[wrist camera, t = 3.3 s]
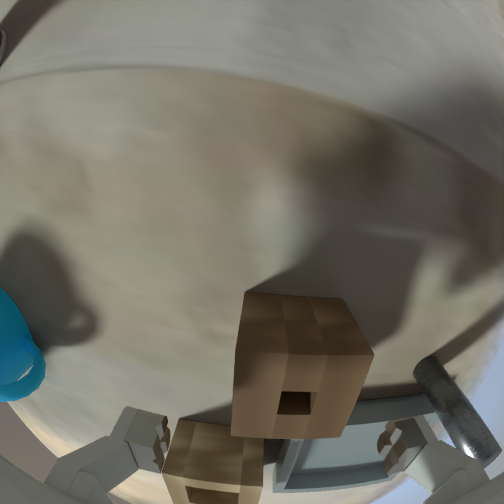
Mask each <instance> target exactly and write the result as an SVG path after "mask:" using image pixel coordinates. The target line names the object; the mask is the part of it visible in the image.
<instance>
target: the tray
mask: <svg viewBox="0 0 504 504" xmlns="http://www.w3.org/2000/svg"><path fill="white" fill-rule="evenodd" d="M418 415H423V416H424V417H425V419H426V420H427V422H428V424H429V426H430V427H431V429H433V427H434V426H435V424H436V423H437V421H438V420H439V417H438V415H437V414H436V412H435V410H434V409H433V407H432V405H431V404H430V402H429V400H428V399H427V397H426V395H425V394H424V393H422V394H416V395H409V396H402V397H394V398H385V399H375V400H363V401H356V404H355V406H354V408H353V411H352V413H351V415H350V417H349V419H348V422H347V424H346V426H345V428H344V430H343V432H342V434H341V436H340V438H323V439H283V440H282V444H281V447H280V451H279V454H278V457H277V461H276V464H275V467H274V471H273V493H295V492H315V491H328V490H337V489H345V488H353V487H359V486H365V485H371V484H376V483H381V482H386V481H390V480H393V478H394V477H395V476H396V475H397V474H398V473H399V472H397V473H392V474H387V475H386V472H385V469H384V467H383V464H382V462H383V459H384V458H383V457H382V456H380V455H379V453H378V450H377V441H378V438H379V436H380V434H381V433H383V432H384V431H385V430H386V429H385V426H386V424H387V423H388V422H389V421H391V420H396V419H401V418H407V417H413V416H418Z"/></svg>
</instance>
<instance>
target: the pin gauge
mask: <svg viewBox="0 0 504 504" xmlns="http://www.w3.org/2000/svg"><path fill="white" fill-rule="evenodd" d="M413 376H414V378H415V379H416V381H417V383H418V384H419V386H420V387H421V389H422V391H423V392H424V394H425V395H426V397H427V399H428V400H429V402H430V404H431V405H432V407H433V409H434V410H435V412H436V414H437V415H438V417H439V419H440V420H441V422H442V424H443V426H444V427H445V429H446V431H447V433H448V434H449V436H450V438H451V440H452V442H453V443H454V445H455V447H456V449H458V450H460V451H462V452H463V453H465V454H467V455H469V456H471V457H473V458H475V459H477V460H479V462H480V463H481V465H482V467H483V469H484V468H485V467H487V466H488V465H489V464H490V463H491V462H493V461H494V460H495V459H496V458H497V457H498V456H499V454H500V453H501V451H502V449H501V448H500V446H499V444H498V443H497V441H496V440H495V438H494V436H493V435H492V434H491V432H490V430H489V429H488V427H487V426H486V425H485V423H484V422H483V420H482V419H481V417H480V416H479V415H478V413H477V411H476V410H475V409H474V407H473V406H472V404H471V403H470V402H469V400H468V399H467V398H466V396H465V395H464V393H463V392H462V391H461V389H460V388H459V387H458V385H457V384H456V383H455V381H454V380H453V379H452V378H451V376H450V375H449V374H448V372H447V371H446V370H445V368H444V367H443V366H442V365H441V363H440V362H439V361H438V360H437V358H436V357H434V356H430V357H427V358H425V359H423V360H422V361H421V362H419V363H418V365H417V366H416V367H415V369H414V372H413Z"/></svg>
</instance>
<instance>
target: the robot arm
mask: <svg viewBox="0 0 504 504" xmlns="http://www.w3.org/2000/svg"><path fill="white" fill-rule="evenodd" d="M167 424H168V419H167V416H164V415H160V414H156V413H152V412H148V411H144V410H140V409H136V408H132V407H129V406H127V407H126V408H124V410H123V411H122V413H121V415H120V417H119V419H118V421H117V423H116V425H115V427H114V429H113V431H112V433H111V434H110V436H104V437H102V438H100V439H98V440H96V441H94V442H92V443H90V444H88V445H86V446H84V447H82V448H80V449H78V450H75V451H73V452H71V453H69V454H67V455H65V456H62V457H60V458H58V459H57V461H56V463H55V465H54V466H53V468H52V470H51V471H50V473H49V475H48V476H47V478H46V480H45V482H44V483H43V482H41V481H40V480H38V479H36V478H35V477H33V476H31V475H30V474H28V473H27V472H25V471H24V470H22V469H21V468H19V467H18V466H16V465H15V464H13V463H12V462H10V461H9V460H8V459H6V458H5V457H3V456H2V455H1V454H0V504H114V502H113V501H112V500H111V499H110V497H109V496H108V495H107V492H109V491H110V490H111V489H113V488H114V487H116V486H117V485H118V484H120V483H121V482H123V481H124V480H125V479H127V478H128V477H129V476H131V475H132V474H133V473H135V472H136V471H137V470H138V468H139V469H143V470H147V471H151V472H156V473H160V474H161V471H162V468H163V465H164V461H165V459H164V455H163V454H164V453H166V452H167V451H168V448H169V444H170V429H169V428H168V427H167ZM385 429H386V430H385V431H384V432H383V433H381V434H380V436H379V438H378V441H377V450H378V453H379V455H380V456H382V457H383V458H384V459H383V462H382V464H383V467H384V469H385V472H386V475H387V474H392V473H397V472H401V471H404V472H405V473H406V474H407V475H409V476H410V477H411V478H412V479H413V480H415V481H416V482H417V483H418V484H419V485H421V486H422V487H423V488H424V489H425V490H427V491H428V492H429V493H430V494H432V495H431V496H430V497H429V498H428V499H426V500H425V501H424V503H423V504H504V472H503V473H501V474H499V475H498V476H496V477H495V478H493V479H492V480H490V479H489V477H488V476H487V474H486V472H485V470H484V469H483V467H482V465H481V463H480V462H479V460H477V459H475V458H473V457H471V456H469V455H467V454H465V453H463V452H462V451H460V450H458V449H456V448H454V447H452V446H451V445H449V444H447V443H445V442H443V441H442V440H440V441H438V439H437V438H436V436H435V434H434V432H433V431H432V429H431V427H430V426H429V424H428V422H427V420H426V419H425V417H424V416H423V415H418V416H413V417H407V418H401V419H396V420H391V421H389V422H388V423H387V424H386V426H385Z"/></svg>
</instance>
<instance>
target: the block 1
mask: <svg viewBox="0 0 504 504" xmlns="http://www.w3.org/2000/svg"><path fill="white" fill-rule="evenodd" d="M263 459H264V438H251V437H238V436H231V426H225V425H217V424H209V423H202V422H196V421H190V420H184V419H179V420H178V423H177V426H176V429H175V432H174V435H173V438H172V441H171V445H170V448H169V451H168V454H167V457H166V460H165V463H164V467H163V470H162V475H163V478H164V481H165V483H166V486H167V489H168V491H169V494H170V496H171V498H172V501H173V503H174V504H258V502H259V498H260V495H261V492H262V488H263Z"/></svg>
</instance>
